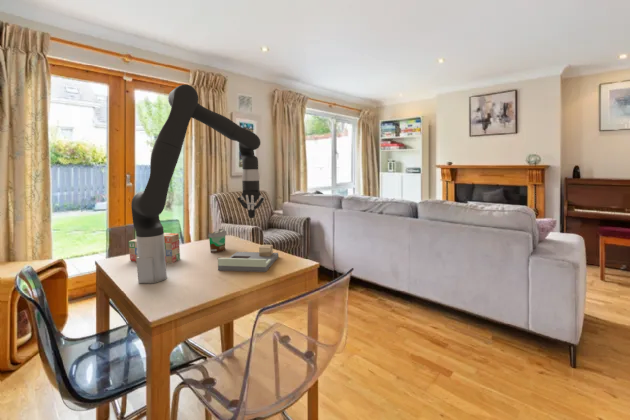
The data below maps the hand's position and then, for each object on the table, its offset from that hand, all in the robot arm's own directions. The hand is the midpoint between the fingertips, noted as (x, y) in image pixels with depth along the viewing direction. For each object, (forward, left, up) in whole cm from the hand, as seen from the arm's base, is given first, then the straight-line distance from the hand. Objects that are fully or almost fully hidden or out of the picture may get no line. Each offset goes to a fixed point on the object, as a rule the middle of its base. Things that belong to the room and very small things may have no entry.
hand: (251, 217), depth 150 cm
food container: (+12, +21, -19) cm, 31 cm away
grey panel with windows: (-8, -1, -19) cm, 20 cm away
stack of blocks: (-7, +44, -19) cm, 49 cm away
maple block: (0, -6, -17) cm, 18 cm away
